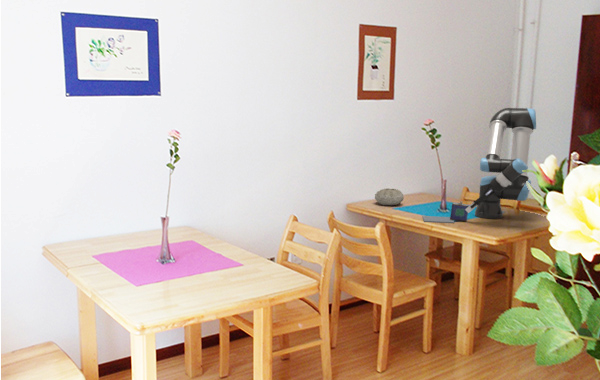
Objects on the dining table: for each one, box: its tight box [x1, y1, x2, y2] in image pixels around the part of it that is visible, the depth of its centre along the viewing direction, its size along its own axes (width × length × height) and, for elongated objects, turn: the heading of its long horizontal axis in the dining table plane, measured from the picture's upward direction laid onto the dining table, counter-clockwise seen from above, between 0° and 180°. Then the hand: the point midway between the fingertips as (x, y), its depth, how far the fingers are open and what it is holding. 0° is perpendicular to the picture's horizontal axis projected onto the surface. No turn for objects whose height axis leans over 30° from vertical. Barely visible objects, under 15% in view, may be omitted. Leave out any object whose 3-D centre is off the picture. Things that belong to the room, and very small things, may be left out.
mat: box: [422, 215, 455, 224], centre depth 320 cm, size 16×13×1 cm
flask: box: [449, 201, 470, 222], centre depth 318 cm, size 9×3×11 cm, turn 88°
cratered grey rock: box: [374, 188, 405, 206], centre depth 362 cm, size 18×18×10 cm
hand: (467, 211), depth 316 cm, fingers closed
